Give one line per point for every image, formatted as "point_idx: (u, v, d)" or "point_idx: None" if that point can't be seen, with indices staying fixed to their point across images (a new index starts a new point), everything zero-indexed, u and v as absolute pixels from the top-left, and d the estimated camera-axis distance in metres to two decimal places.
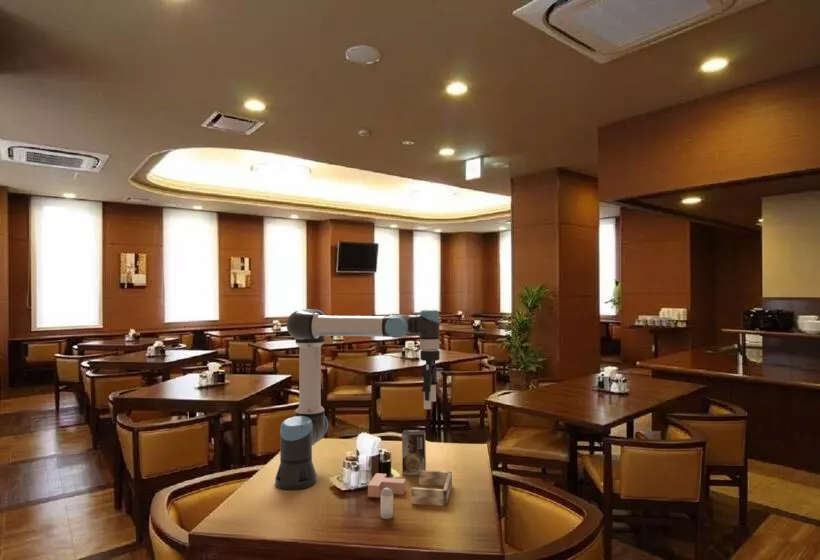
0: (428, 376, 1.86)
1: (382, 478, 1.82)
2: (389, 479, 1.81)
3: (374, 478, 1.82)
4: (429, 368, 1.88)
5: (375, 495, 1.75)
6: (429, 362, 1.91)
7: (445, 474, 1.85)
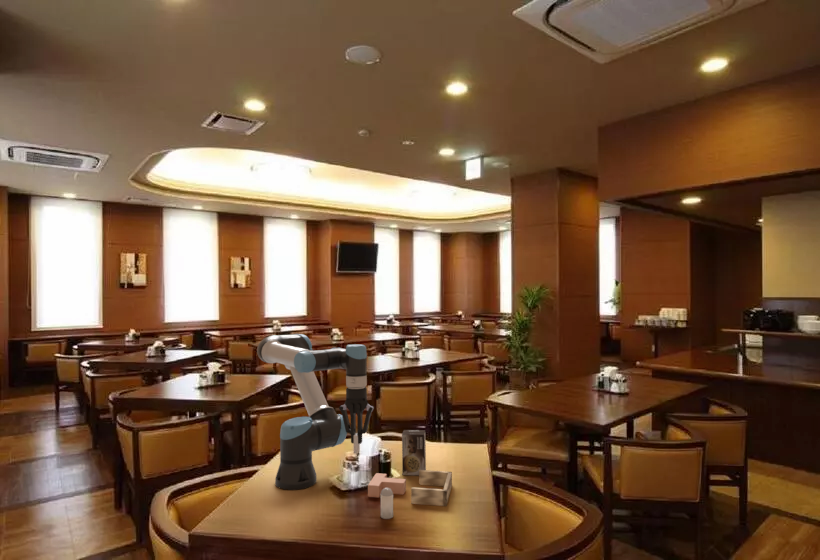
0: None
1: (382, 478, 1.82)
2: (389, 479, 1.81)
3: (374, 478, 1.82)
4: None
5: (375, 495, 1.75)
6: None
7: (445, 474, 1.85)
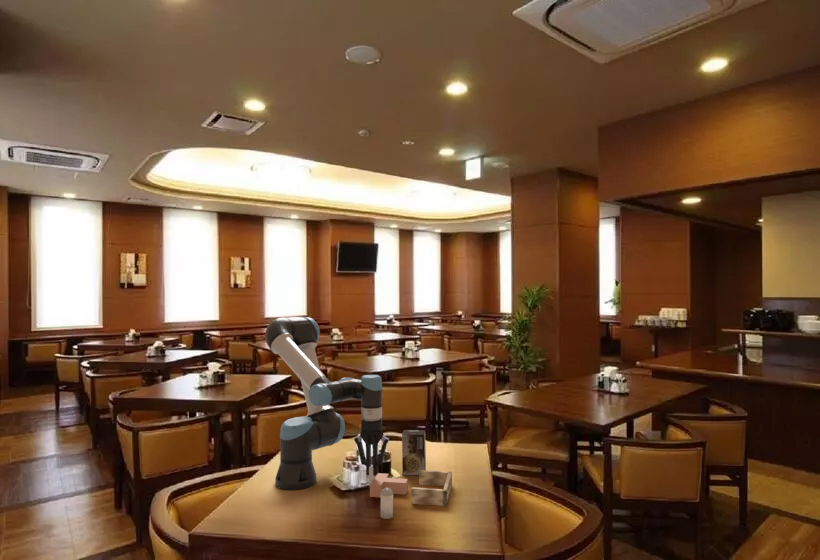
0: None
1: (384, 478, 1.82)
2: (391, 479, 1.81)
3: (376, 478, 1.82)
4: None
5: (377, 495, 1.75)
6: None
7: (445, 474, 1.85)
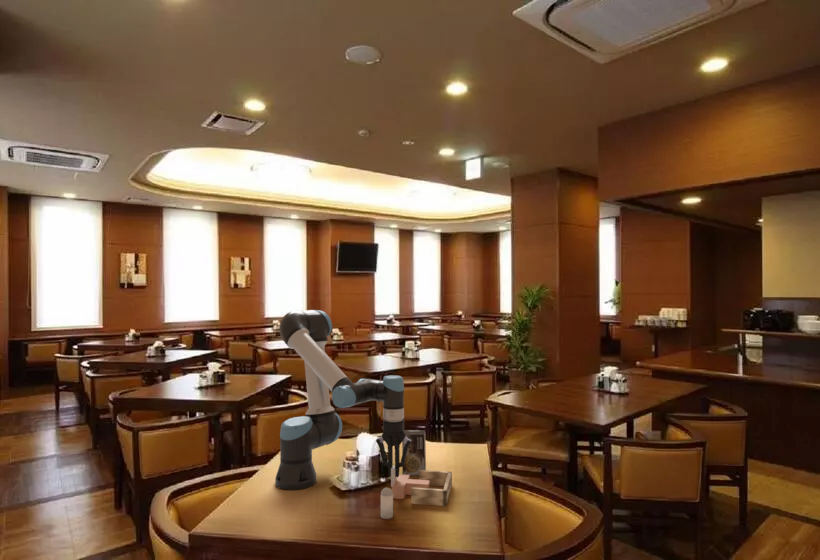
0: None
1: (406, 479, 1.81)
2: (413, 480, 1.80)
3: (398, 479, 1.81)
4: None
5: (400, 497, 1.74)
6: None
7: (445, 474, 1.85)
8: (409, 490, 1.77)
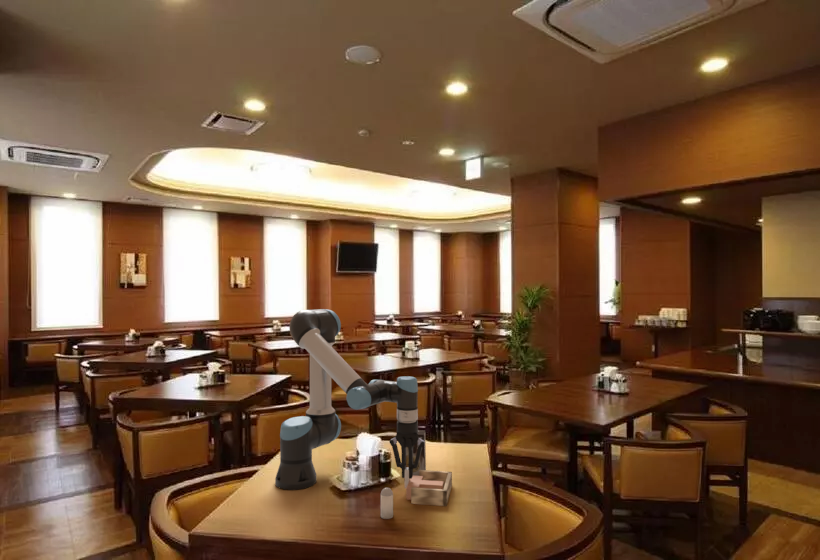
0: None
1: (419, 480, 1.80)
2: (427, 481, 1.79)
3: (411, 480, 1.80)
4: None
5: None
6: None
7: (445, 474, 1.85)
8: None
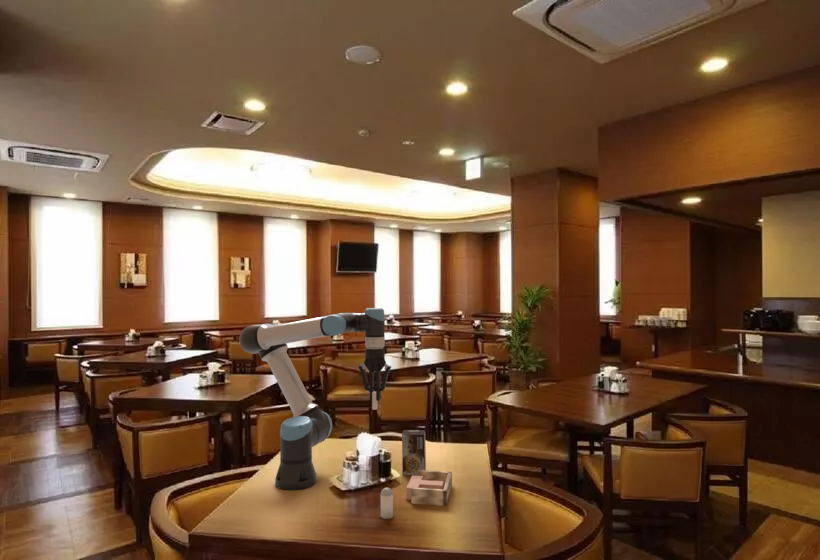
0: None
1: (419, 480, 1.80)
2: (427, 481, 1.79)
3: (411, 480, 1.80)
4: None
5: None
6: None
7: (445, 474, 1.85)
8: None
